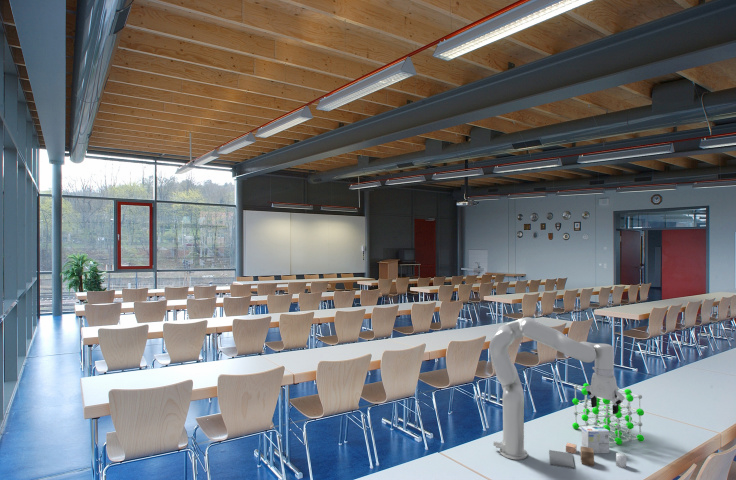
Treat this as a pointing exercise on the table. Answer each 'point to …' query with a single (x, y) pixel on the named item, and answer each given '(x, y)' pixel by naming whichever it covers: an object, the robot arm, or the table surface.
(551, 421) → the table surface
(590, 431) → the light bulb box
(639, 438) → the molecular structure model
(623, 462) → the grey plastic cylinder
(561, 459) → the mat
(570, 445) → the peach cube
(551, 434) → the table surface
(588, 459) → the walnut block
